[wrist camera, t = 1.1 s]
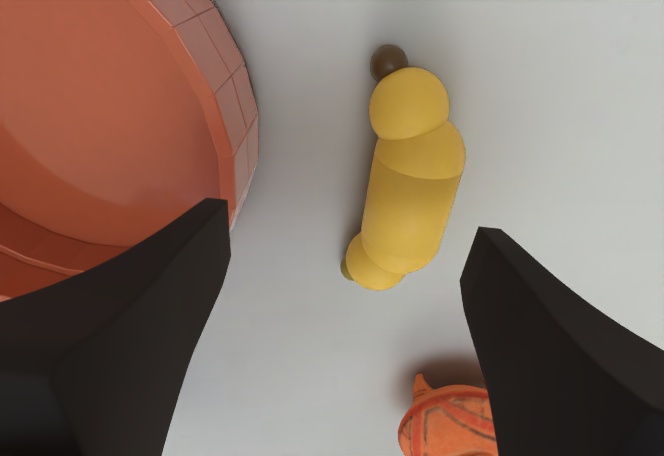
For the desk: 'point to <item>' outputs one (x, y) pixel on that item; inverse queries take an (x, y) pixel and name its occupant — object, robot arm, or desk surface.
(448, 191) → the banana
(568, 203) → the desk surface
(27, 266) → the bowl
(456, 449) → the pot
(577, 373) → the robot arm
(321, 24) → the desk surface
